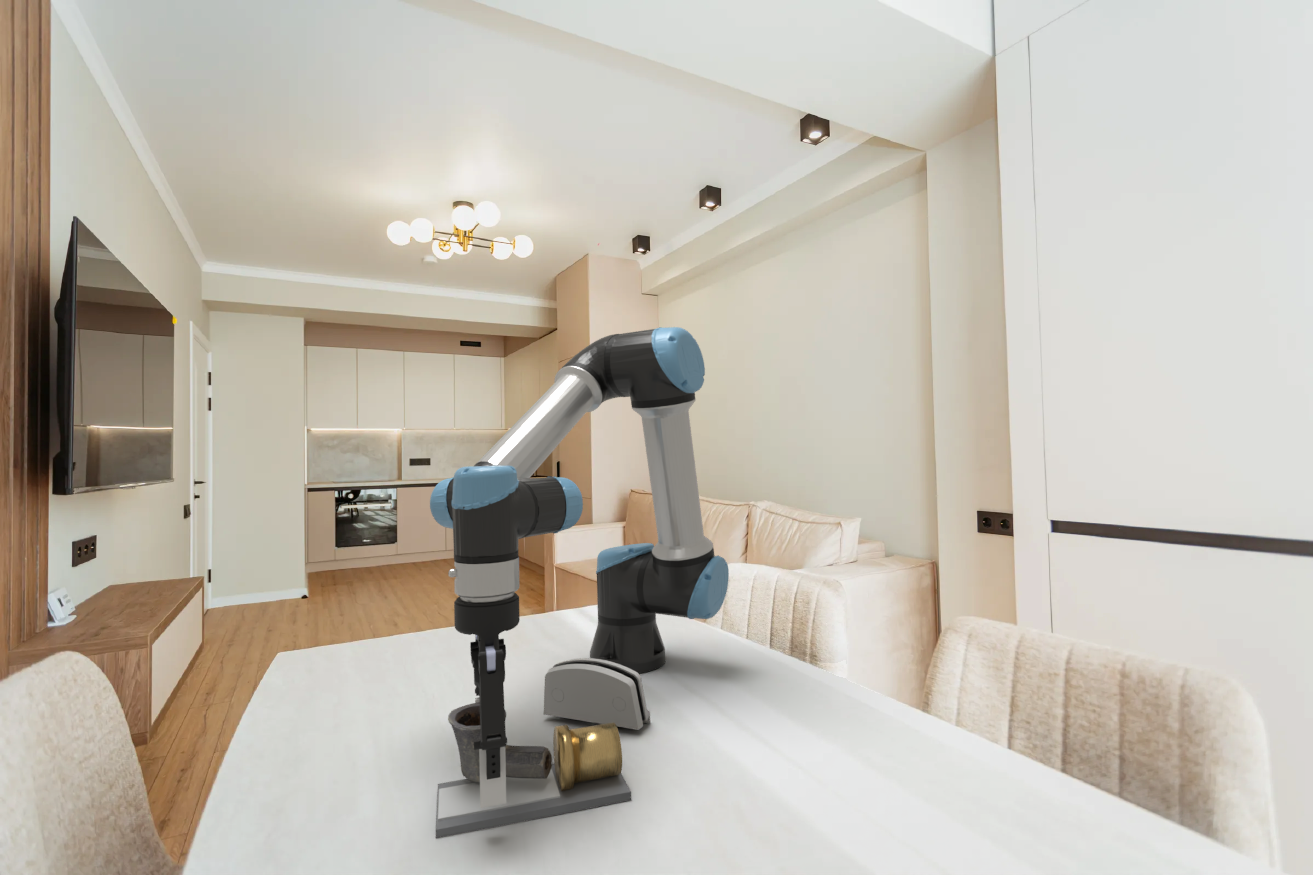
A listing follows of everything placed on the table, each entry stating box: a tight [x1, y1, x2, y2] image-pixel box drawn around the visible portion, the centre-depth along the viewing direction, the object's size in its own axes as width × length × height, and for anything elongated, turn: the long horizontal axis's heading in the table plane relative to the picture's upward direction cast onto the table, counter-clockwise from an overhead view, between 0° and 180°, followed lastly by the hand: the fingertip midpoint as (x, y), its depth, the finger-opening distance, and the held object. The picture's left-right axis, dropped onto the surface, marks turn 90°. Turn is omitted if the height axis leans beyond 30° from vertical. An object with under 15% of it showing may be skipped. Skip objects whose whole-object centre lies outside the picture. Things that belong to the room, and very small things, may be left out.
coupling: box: [552, 723, 623, 791], centre depth 78 cm, size 7×7×7 cm
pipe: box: [447, 702, 553, 783], centre depth 78 cm, size 6×13×8 cm, turn 79°
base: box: [435, 763, 632, 839], centre depth 76 cm, size 22×10×1 cm, turn 108°
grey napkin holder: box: [543, 657, 652, 731], centre depth 96 cm, size 17×5×10 cm, turn 68°
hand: (489, 773), depth 75 cm, fingers open, 13 cm apart
